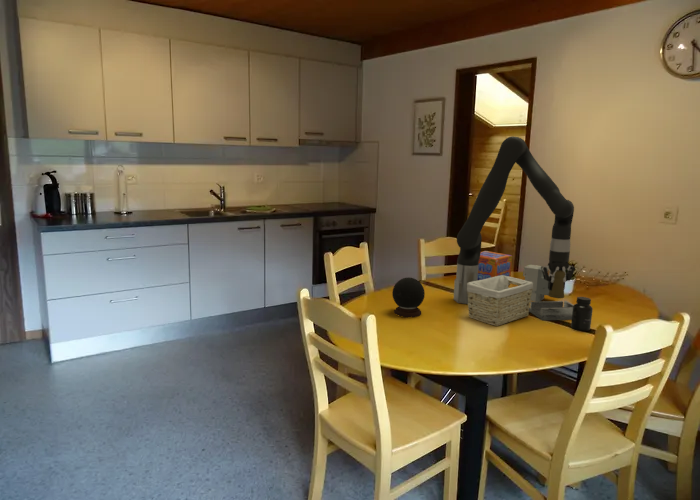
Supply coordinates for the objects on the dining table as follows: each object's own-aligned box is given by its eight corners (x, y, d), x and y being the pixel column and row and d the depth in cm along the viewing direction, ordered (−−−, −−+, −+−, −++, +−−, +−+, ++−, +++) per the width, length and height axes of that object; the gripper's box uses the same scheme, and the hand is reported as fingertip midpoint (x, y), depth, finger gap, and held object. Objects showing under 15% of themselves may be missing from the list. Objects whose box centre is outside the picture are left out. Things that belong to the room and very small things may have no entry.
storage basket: (496, 328, 190) (498, 291, 187) (462, 317, 203) (464, 281, 200) (532, 317, 204) (535, 282, 201) (499, 307, 217) (501, 274, 214)
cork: (548, 297, 203) (550, 270, 201) (548, 293, 208) (550, 267, 206) (564, 299, 200) (566, 272, 198) (564, 295, 206) (566, 269, 204)
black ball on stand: (398, 306, 215) (399, 272, 212) (427, 311, 209) (429, 276, 206) (386, 315, 203) (387, 279, 200) (417, 320, 198) (419, 283, 195)
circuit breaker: (553, 304, 221) (556, 271, 218) (521, 298, 230) (523, 267, 227) (557, 300, 227) (561, 268, 224) (526, 295, 236) (529, 264, 233)
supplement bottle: (589, 332, 186) (592, 301, 184) (569, 329, 190) (572, 298, 188) (591, 327, 192) (594, 297, 190) (572, 324, 196) (575, 294, 193)
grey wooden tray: (542, 320, 200) (543, 309, 199) (528, 311, 211) (529, 300, 210) (580, 319, 201) (581, 308, 201) (564, 310, 213) (565, 300, 212)
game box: (510, 285, 254) (512, 255, 251) (493, 290, 243) (495, 259, 240) (483, 279, 265) (485, 250, 262) (466, 284, 255) (468, 254, 252)
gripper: (547, 251, 197) (544, 293, 200) (581, 251, 198) (577, 292, 202) (538, 247, 204) (535, 288, 207) (571, 247, 206) (567, 288, 209)
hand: (556, 290), depth 204 cm, fingers closed on cork, 4 cm apart
